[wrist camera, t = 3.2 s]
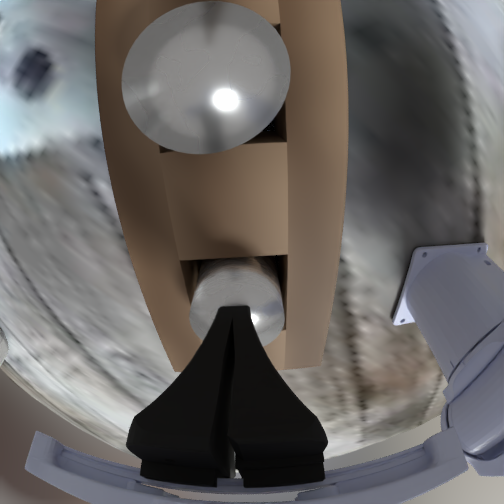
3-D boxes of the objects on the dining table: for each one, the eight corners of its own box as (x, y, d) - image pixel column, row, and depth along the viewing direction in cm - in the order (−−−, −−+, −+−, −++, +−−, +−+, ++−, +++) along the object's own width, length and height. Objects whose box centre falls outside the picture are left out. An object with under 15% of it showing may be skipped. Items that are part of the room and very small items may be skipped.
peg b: (275, 230, 15) (285, 281, 11) (276, 292, 17) (283, 349, 13) (197, 235, 15) (180, 286, 11) (208, 296, 17) (198, 352, 13)
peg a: (270, 36, 8) (284, -4, 4) (275, 132, 11) (293, 148, 7) (165, 48, 9) (119, 21, 4) (173, 141, 11) (131, 164, 7)
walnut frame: (309, -7, 9) (332, -42, 5) (308, 316, 21) (320, 365, 17) (136, 11, 10) (97, -14, 5) (185, 322, 21) (174, 371, 17)
